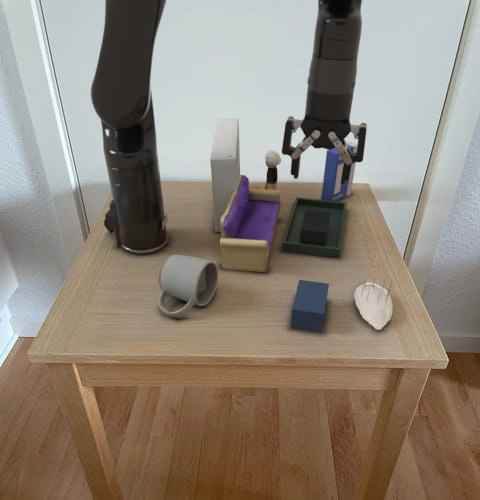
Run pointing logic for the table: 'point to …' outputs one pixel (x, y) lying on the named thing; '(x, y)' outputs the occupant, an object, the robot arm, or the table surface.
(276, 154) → the grandmother figurine
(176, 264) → the ceramic mug
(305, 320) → the dark blue block
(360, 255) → the table surface
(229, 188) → the skincare box
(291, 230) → the pad frame
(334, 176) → the blue and white box
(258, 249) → the toy sofa
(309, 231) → the charcoal pad
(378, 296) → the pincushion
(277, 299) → the table surface
